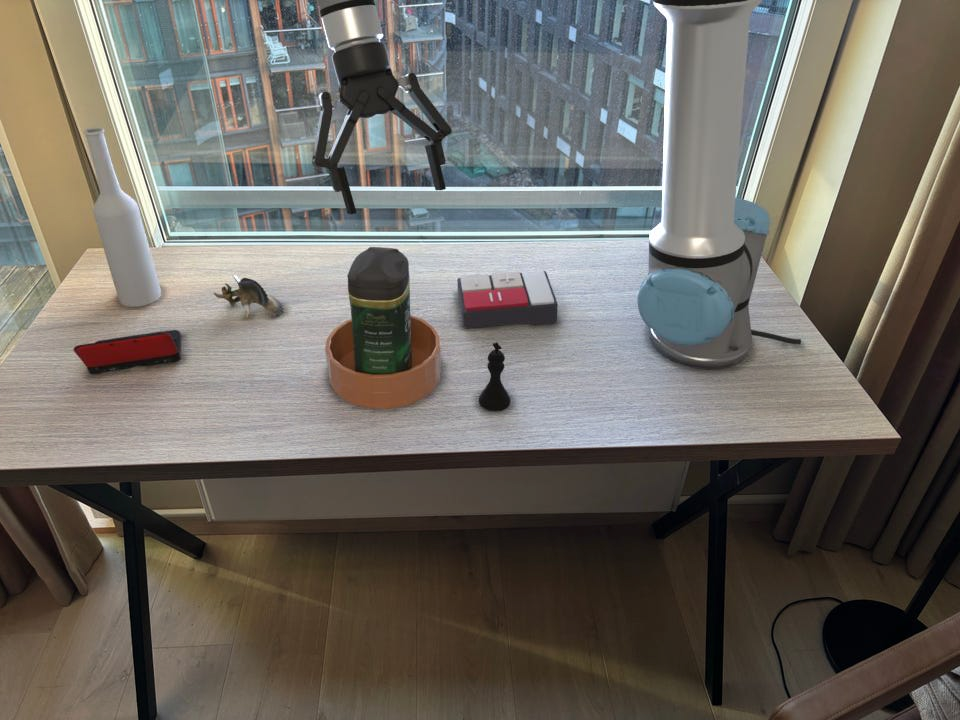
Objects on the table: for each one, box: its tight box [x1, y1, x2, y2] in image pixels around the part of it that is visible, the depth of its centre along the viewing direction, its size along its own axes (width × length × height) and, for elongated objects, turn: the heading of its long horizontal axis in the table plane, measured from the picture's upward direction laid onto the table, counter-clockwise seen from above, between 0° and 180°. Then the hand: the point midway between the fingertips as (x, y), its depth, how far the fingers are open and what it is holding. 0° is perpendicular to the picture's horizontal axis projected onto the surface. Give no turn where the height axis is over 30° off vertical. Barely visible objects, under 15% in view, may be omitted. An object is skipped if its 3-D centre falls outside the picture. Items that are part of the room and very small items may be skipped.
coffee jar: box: [346, 246, 412, 375], centre depth 106 cm, size 10×8×19 cm
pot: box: [324, 314, 442, 410], centre depth 110 cm, size 16×16×6 cm
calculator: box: [456, 269, 559, 329], centre depth 125 cm, size 11×4×15 cm
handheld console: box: [73, 329, 182, 375], centre depth 111 cm, size 12×11×7 cm
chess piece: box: [478, 342, 511, 412], centre depth 104 cm, size 4×4×10 cm
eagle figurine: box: [213, 274, 285, 319], centre depth 123 cm, size 8×7×9 cm
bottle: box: [83, 126, 162, 308], centre depth 119 cm, size 7×7×28 cm
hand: (397, 201), depth 111 cm, fingers open, 13 cm apart
